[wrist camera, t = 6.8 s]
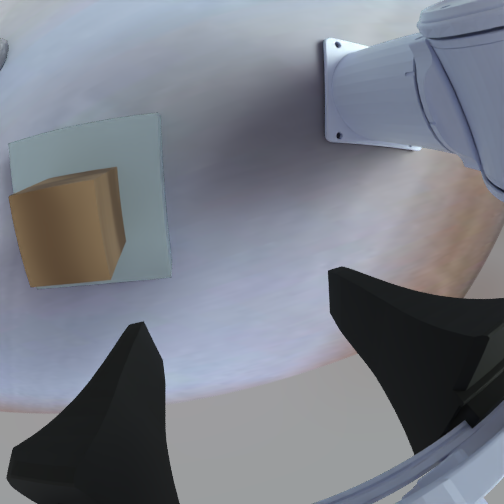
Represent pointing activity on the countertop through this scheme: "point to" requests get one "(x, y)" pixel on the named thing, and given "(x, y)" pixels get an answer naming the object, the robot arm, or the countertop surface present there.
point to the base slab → (129, 177)
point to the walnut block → (70, 228)
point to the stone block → (3, 51)
